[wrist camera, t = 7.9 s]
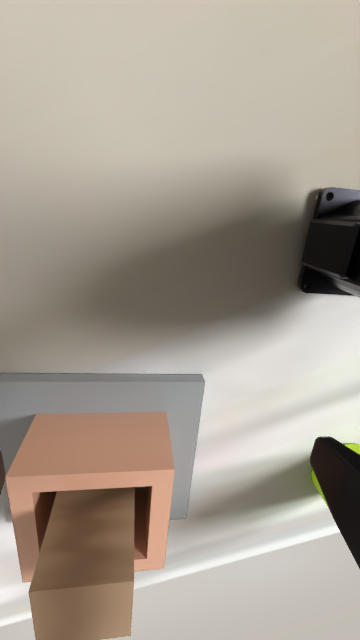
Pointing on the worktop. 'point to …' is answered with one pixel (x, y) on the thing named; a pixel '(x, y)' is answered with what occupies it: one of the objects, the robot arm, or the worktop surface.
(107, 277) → the worktop surface
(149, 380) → the terracotta well
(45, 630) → the walnut block
